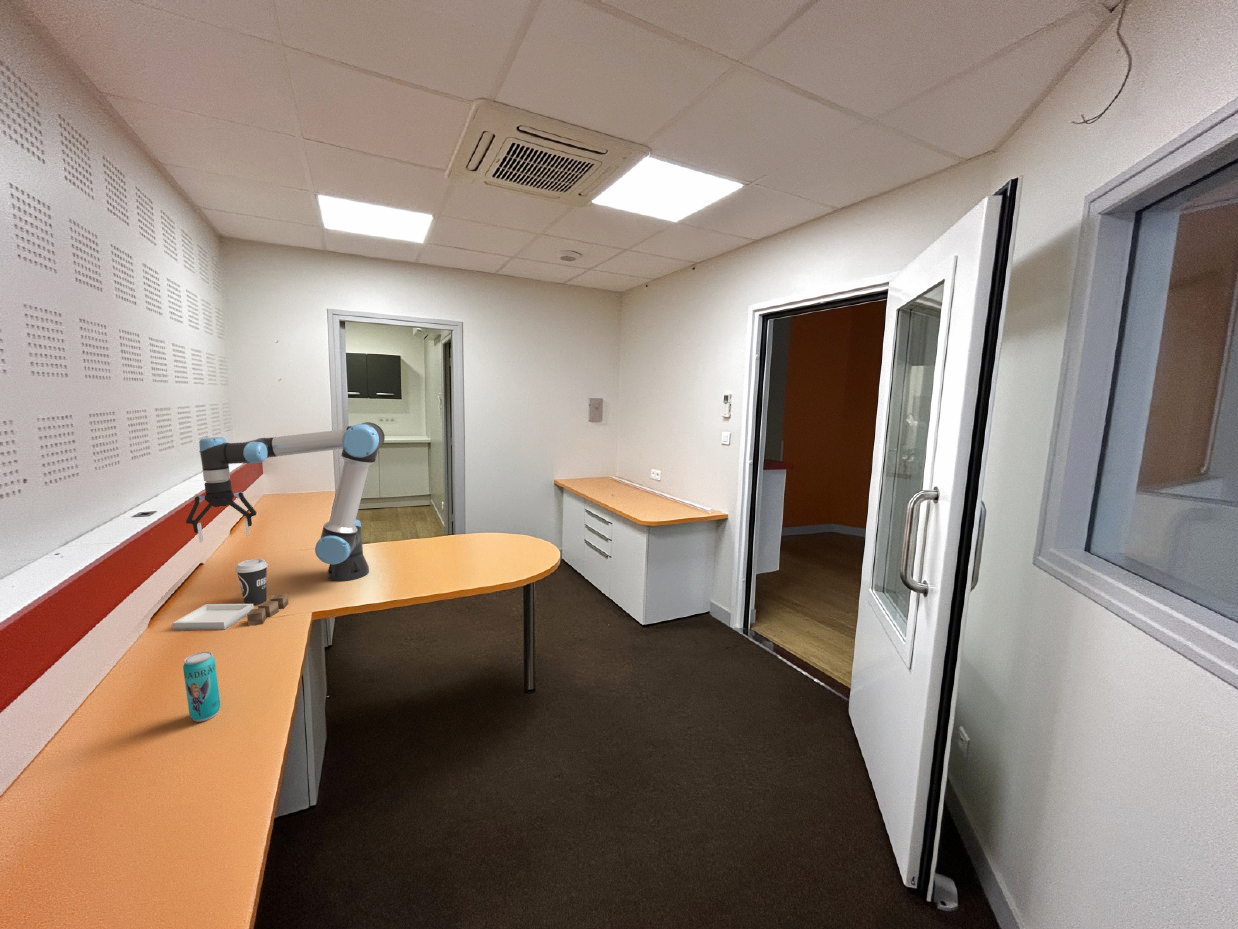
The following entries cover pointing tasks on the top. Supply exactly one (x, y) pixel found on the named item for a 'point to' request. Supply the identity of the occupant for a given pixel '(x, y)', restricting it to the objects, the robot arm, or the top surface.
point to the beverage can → (201, 686)
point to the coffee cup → (253, 580)
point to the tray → (213, 617)
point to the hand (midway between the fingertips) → (225, 538)
